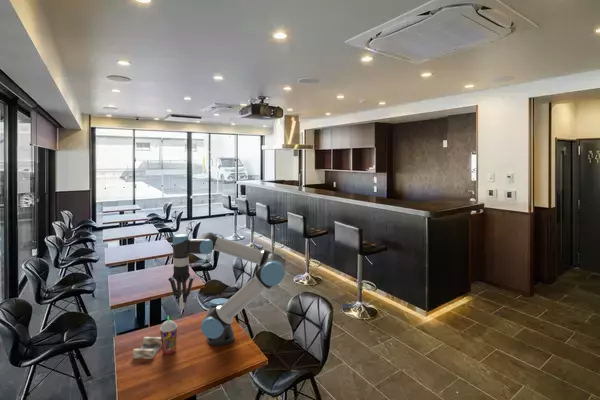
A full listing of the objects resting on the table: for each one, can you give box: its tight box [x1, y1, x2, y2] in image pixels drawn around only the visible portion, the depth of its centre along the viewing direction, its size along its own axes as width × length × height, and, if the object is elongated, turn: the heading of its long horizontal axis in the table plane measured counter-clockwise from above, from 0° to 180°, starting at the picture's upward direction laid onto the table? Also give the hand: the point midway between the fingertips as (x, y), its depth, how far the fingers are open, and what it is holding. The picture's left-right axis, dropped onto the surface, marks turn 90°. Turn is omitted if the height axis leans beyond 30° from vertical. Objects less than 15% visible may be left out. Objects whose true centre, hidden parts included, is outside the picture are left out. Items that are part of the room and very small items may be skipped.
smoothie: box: [159, 315, 178, 355], centre depth 177 cm, size 8×8×20 cm
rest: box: [132, 336, 162, 360], centre depth 178 cm, size 10×13×4 cm
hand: (182, 308), depth 175 cm, fingers closed
